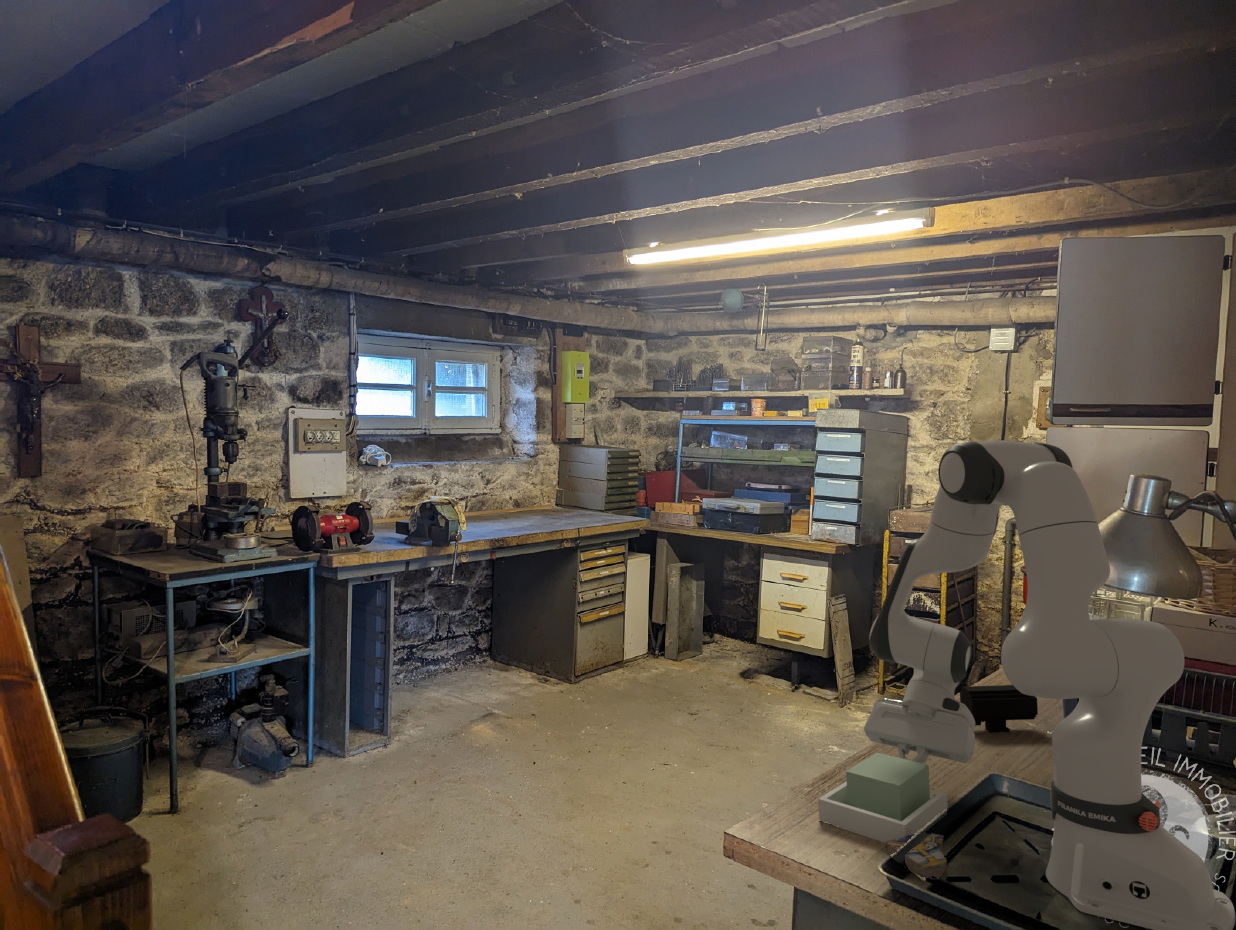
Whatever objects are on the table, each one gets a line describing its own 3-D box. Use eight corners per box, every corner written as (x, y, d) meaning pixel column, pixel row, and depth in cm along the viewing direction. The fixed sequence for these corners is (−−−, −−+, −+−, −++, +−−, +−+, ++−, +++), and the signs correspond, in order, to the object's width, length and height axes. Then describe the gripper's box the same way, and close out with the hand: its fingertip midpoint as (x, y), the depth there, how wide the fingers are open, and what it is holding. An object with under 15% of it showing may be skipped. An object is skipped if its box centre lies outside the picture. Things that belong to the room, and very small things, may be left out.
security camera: (948, 727, 183) (946, 685, 183) (1027, 724, 182) (1025, 682, 182) (960, 737, 176) (958, 693, 176) (1042, 734, 175) (1040, 691, 175)
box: (948, 814, 138) (946, 791, 138) (906, 849, 126) (905, 825, 126) (864, 790, 149) (864, 769, 149) (819, 821, 137) (818, 798, 137)
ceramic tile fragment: (959, 866, 114) (889, 862, 116) (960, 888, 114) (890, 884, 116) (941, 830, 126) (878, 827, 128) (942, 850, 126) (879, 846, 128)
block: (930, 808, 141) (928, 764, 141) (901, 832, 132) (899, 785, 132) (879, 793, 148) (877, 752, 148) (848, 815, 139) (846, 771, 140)
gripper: (871, 688, 157) (849, 749, 151) (974, 707, 143) (956, 775, 136) (882, 704, 161) (861, 765, 154) (984, 724, 146) (966, 792, 139)
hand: (906, 770), depth 145 cm, fingers closed
